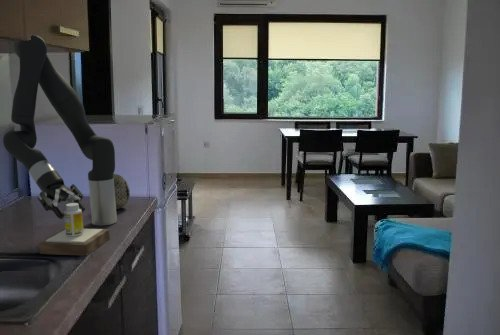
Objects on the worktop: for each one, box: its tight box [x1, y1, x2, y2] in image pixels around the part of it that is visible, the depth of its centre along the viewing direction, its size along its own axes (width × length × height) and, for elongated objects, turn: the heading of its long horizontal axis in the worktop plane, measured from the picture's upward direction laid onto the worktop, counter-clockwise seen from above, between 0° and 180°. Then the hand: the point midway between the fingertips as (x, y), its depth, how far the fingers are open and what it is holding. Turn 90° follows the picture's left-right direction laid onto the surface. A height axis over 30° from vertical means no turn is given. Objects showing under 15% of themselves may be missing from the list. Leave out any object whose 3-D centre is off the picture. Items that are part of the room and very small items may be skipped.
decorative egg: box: [113, 173, 131, 210], centre depth 206 cm, size 12×12×15 cm
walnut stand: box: [38, 228, 111, 256], centre depth 161 cm, size 16×16×4 cm
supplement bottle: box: [63, 202, 84, 237], centre depth 159 cm, size 6×6×10 cm
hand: (73, 214), depth 159 cm, fingers open, 8 cm apart
